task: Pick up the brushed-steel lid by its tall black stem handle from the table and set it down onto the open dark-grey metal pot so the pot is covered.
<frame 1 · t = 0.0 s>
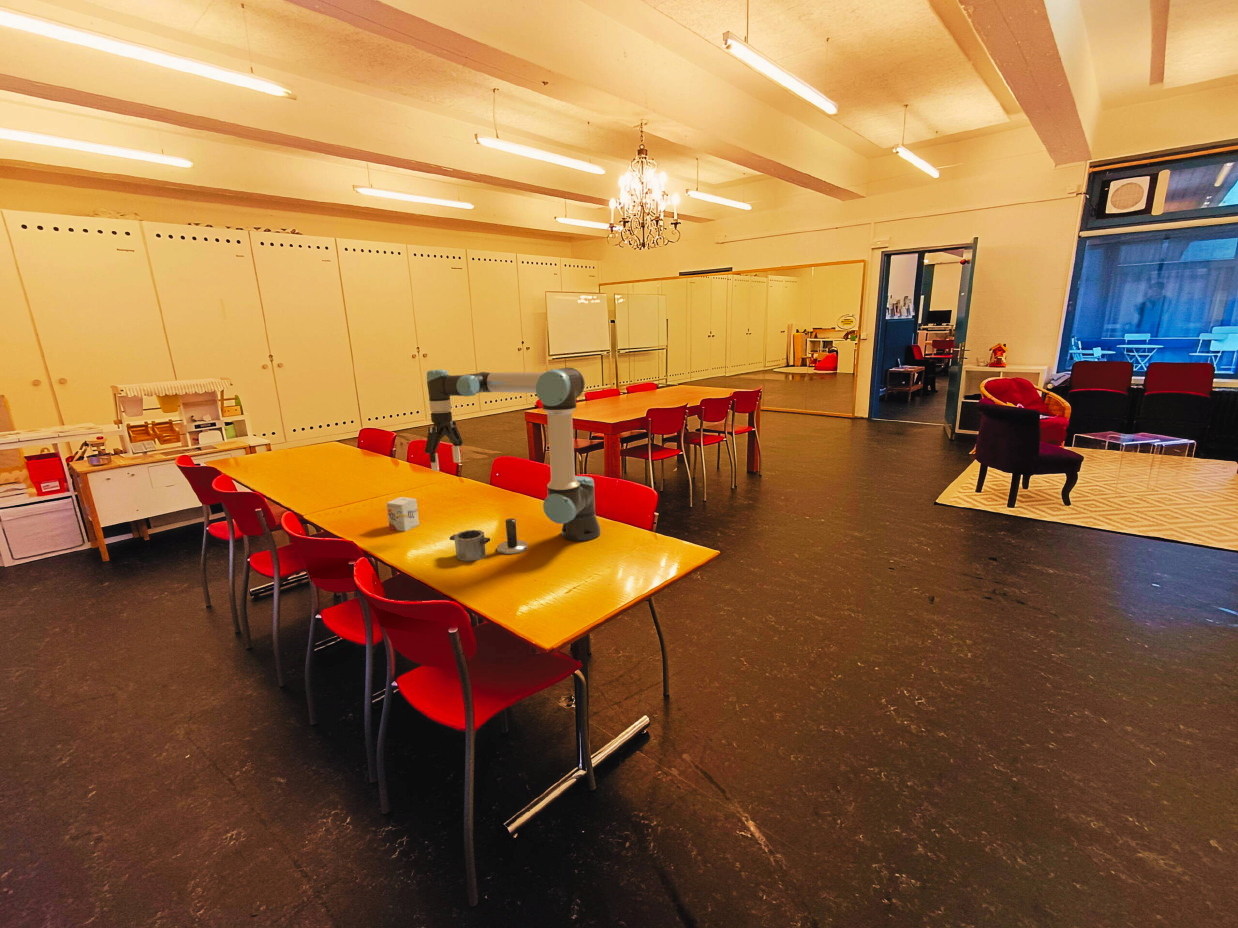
hand: (446, 466, 207), 28 cm above the table, fingers open, 13 cm apart
lid: (512, 548, 198), on the table
ink box: (404, 527, 224), on the table
pot: (471, 555, 192), on the table
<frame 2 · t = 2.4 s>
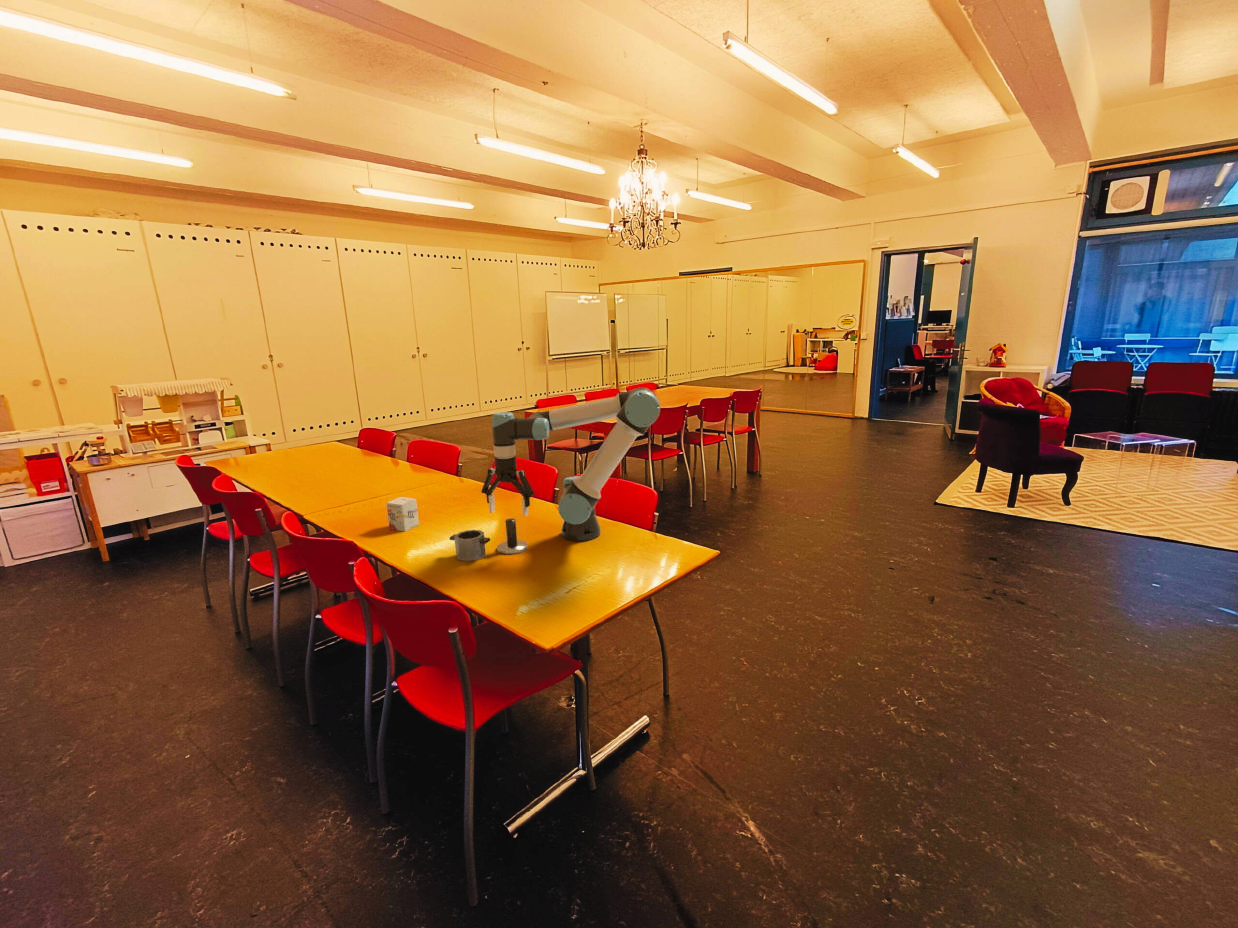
hand: (508, 513, 195), 14 cm above the table, fingers open, 13 cm apart
nothing on the table moved.
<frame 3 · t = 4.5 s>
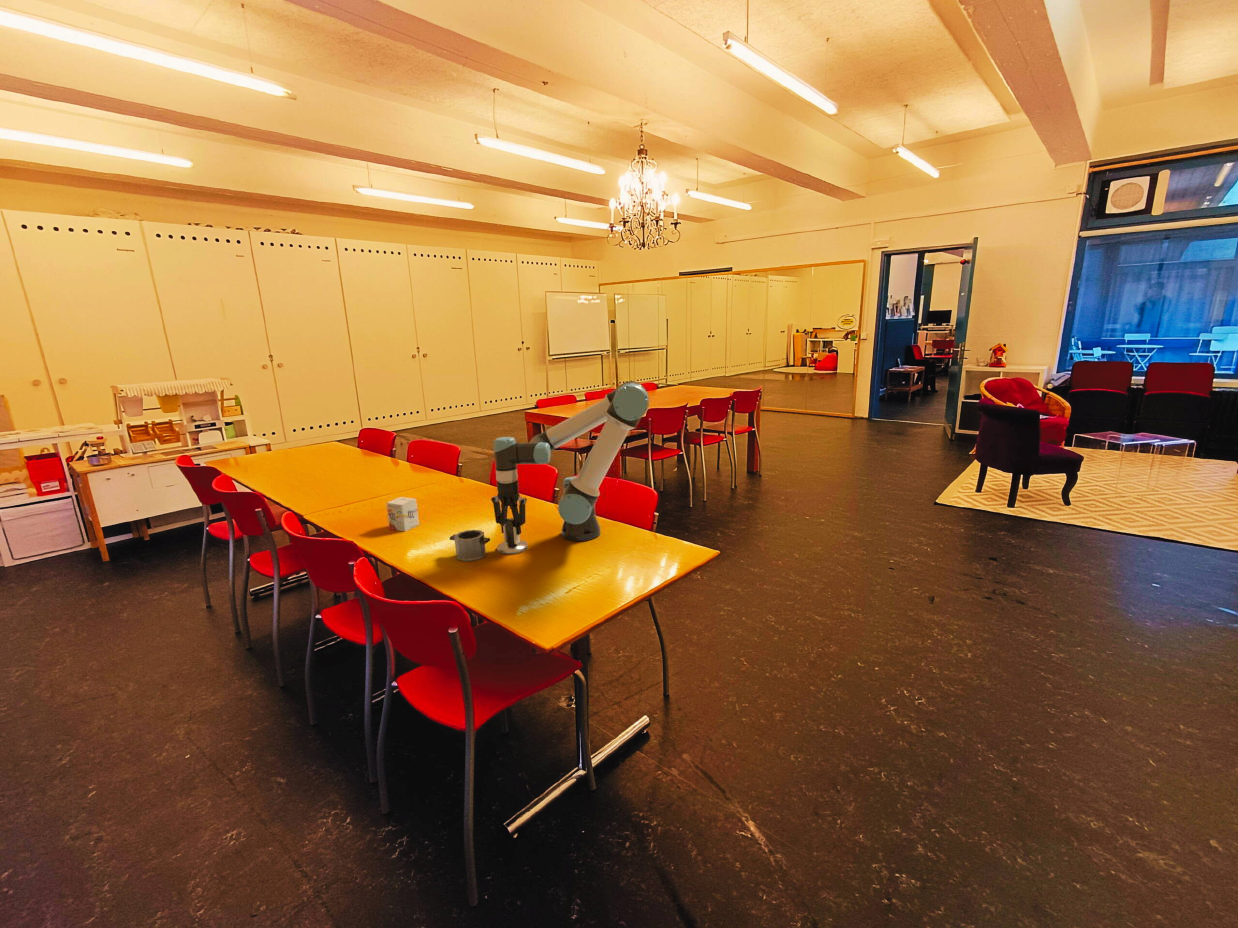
hand: (512, 541, 197), 3 cm above the table, fingers closed on lid, 3 cm apart
lid: (512, 548, 198), on the table, touching gripper
everything else where it was.
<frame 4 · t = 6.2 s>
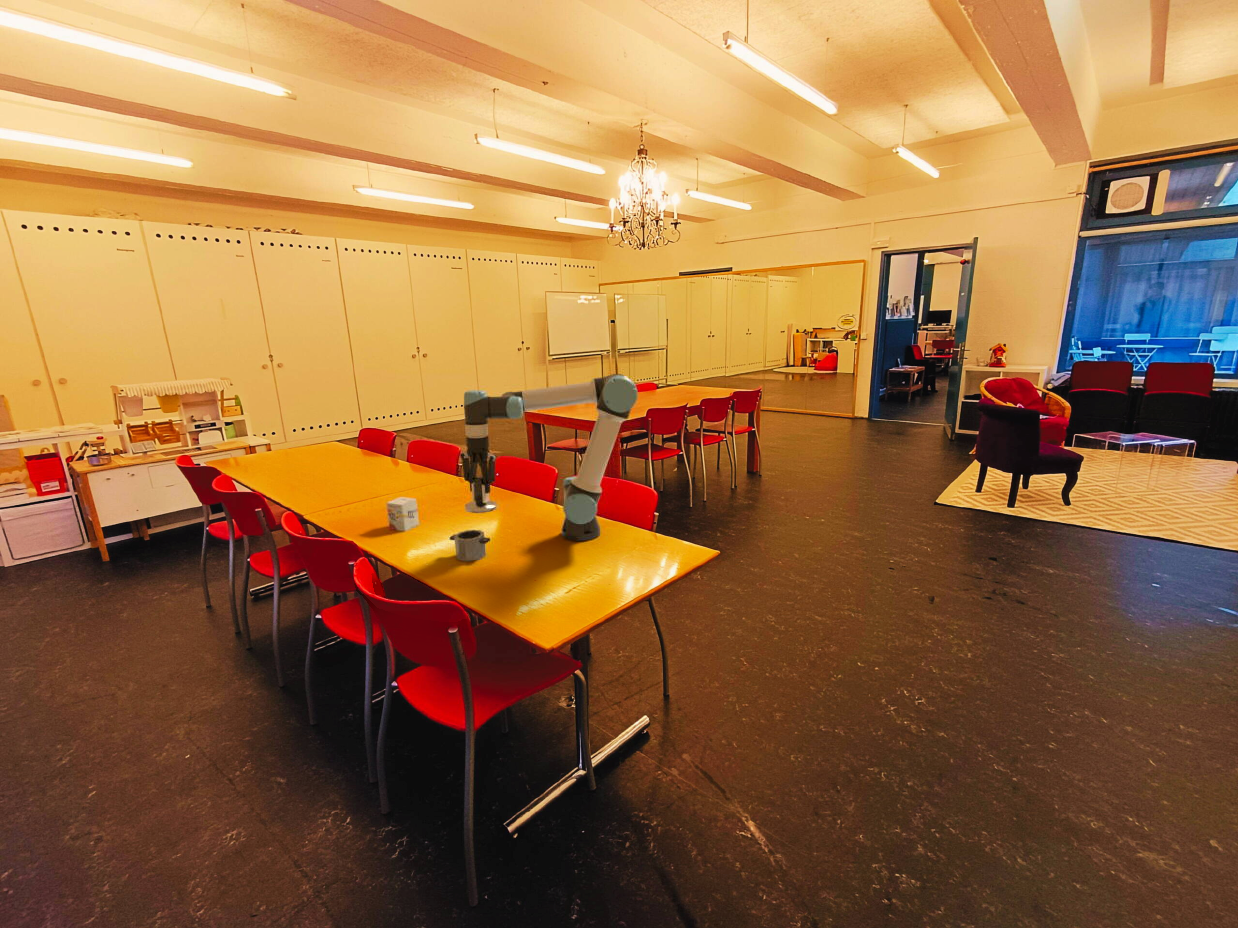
hand: (480, 501, 190), 20 cm above the table, fingers closed on lid, 4 cm apart
lid: (481, 508, 191), point 17 cm above the table, touching gripper
everything else where it was.
when the fingers open (12 cm above the table, at t = 8.3 s): lid drops 1 cm, resting on pot.
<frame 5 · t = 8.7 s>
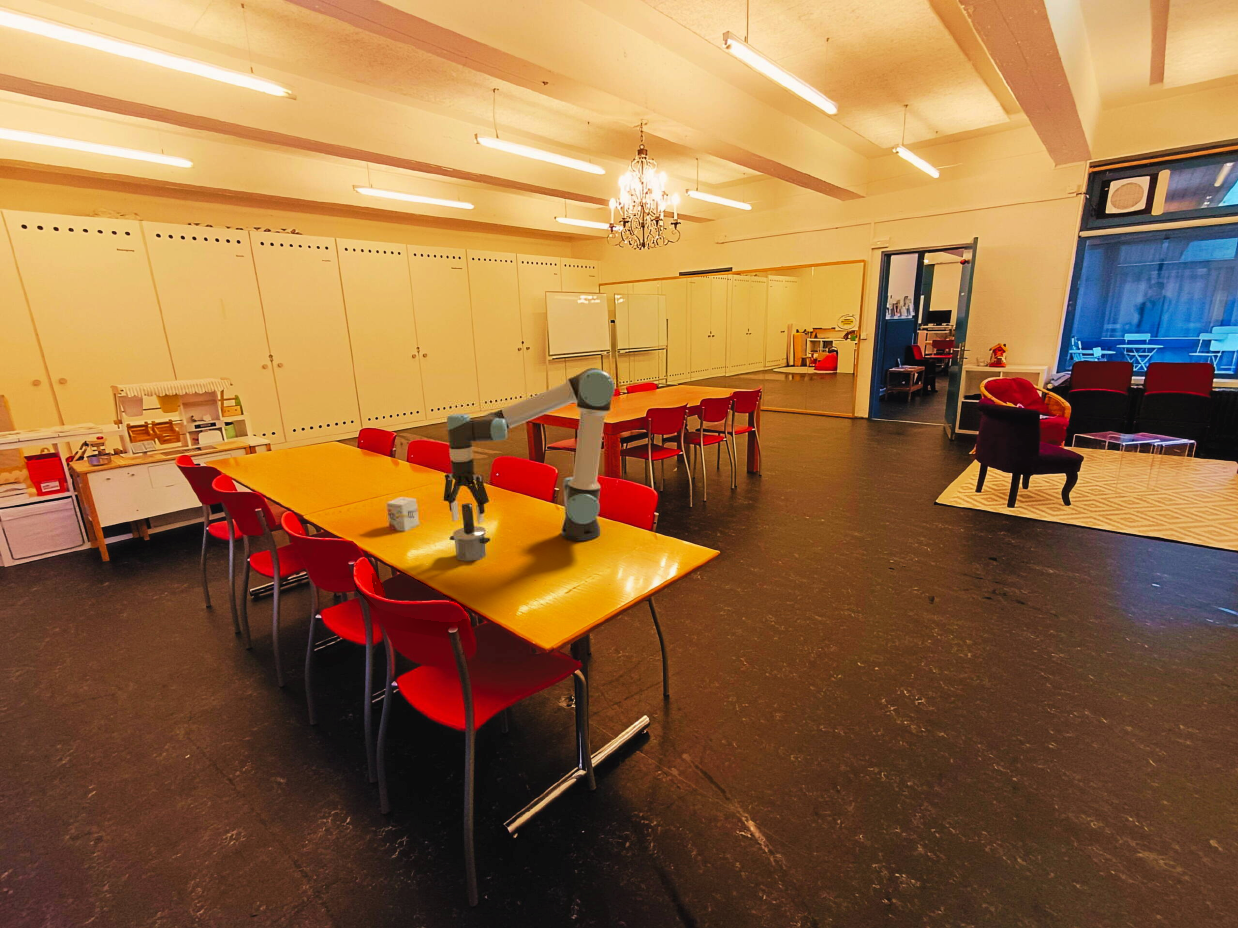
hand: (468, 521, 189), 13 cm above the table, fingers open, 9 cm apart
lid: (469, 534, 190), point 8 cm above the table, touching pot
everything else where it was.
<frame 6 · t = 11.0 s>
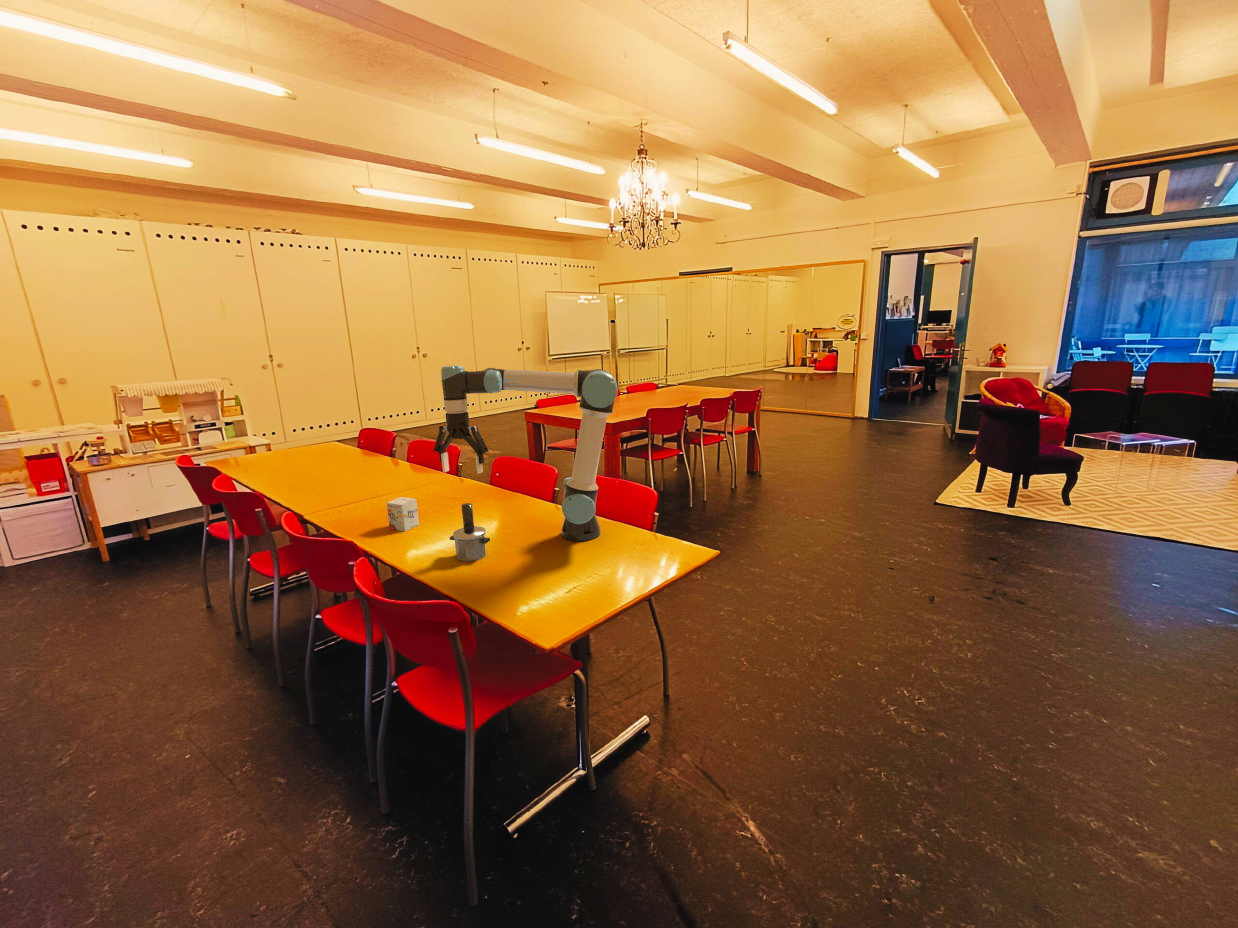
hand: (462, 472, 188), 30 cm above the table, fingers open, 13 cm apart
nothing on the table moved.
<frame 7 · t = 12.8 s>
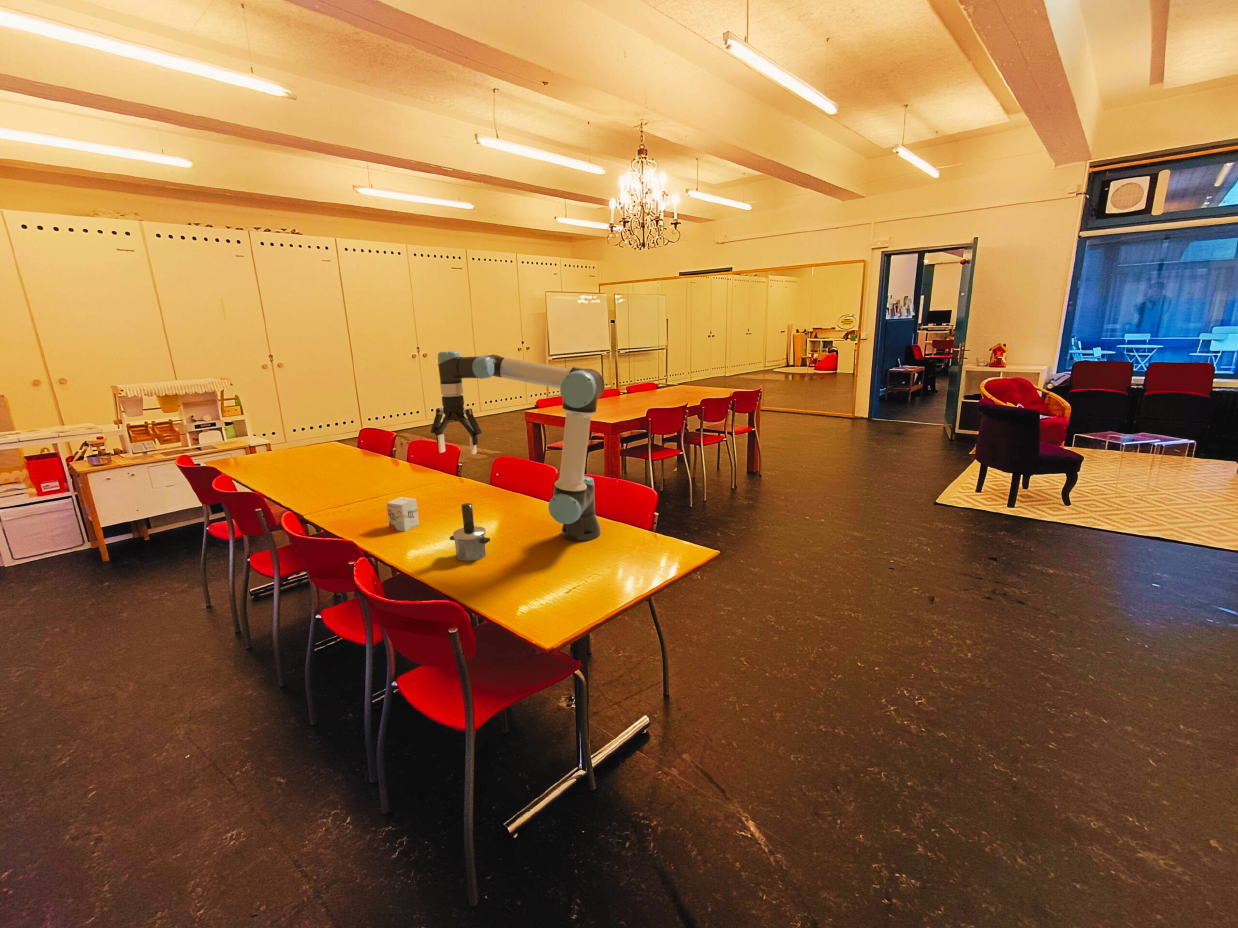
hand: (458, 452, 198), 35 cm above the table, fingers open, 13 cm apart
nothing on the table moved.
at the end: lid 0.1 cm off-centre on the pot, point 8.0 cm above the pot's base; lid tilted 0°; the gripper is holding nothing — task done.
